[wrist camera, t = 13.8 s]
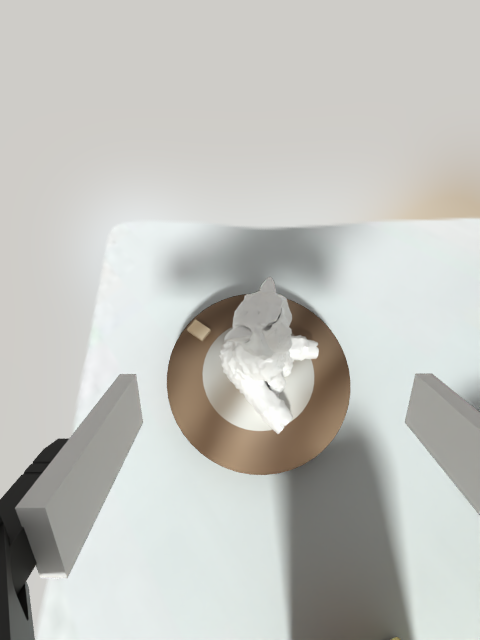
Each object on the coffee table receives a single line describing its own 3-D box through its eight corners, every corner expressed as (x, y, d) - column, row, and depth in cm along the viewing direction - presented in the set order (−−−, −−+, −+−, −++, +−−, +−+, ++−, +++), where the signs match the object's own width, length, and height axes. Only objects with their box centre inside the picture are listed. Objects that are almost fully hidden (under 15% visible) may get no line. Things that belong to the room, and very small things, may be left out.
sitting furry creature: (283, 438, 26) (314, 424, 15) (199, 395, 27) (173, 354, 17) (319, 349, 29) (364, 285, 19) (243, 315, 31) (244, 239, 20)
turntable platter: (376, 354, 30) (383, 349, 29) (287, 522, 24) (289, 527, 22) (237, 272, 35) (237, 264, 33) (131, 395, 28) (125, 392, 27)
